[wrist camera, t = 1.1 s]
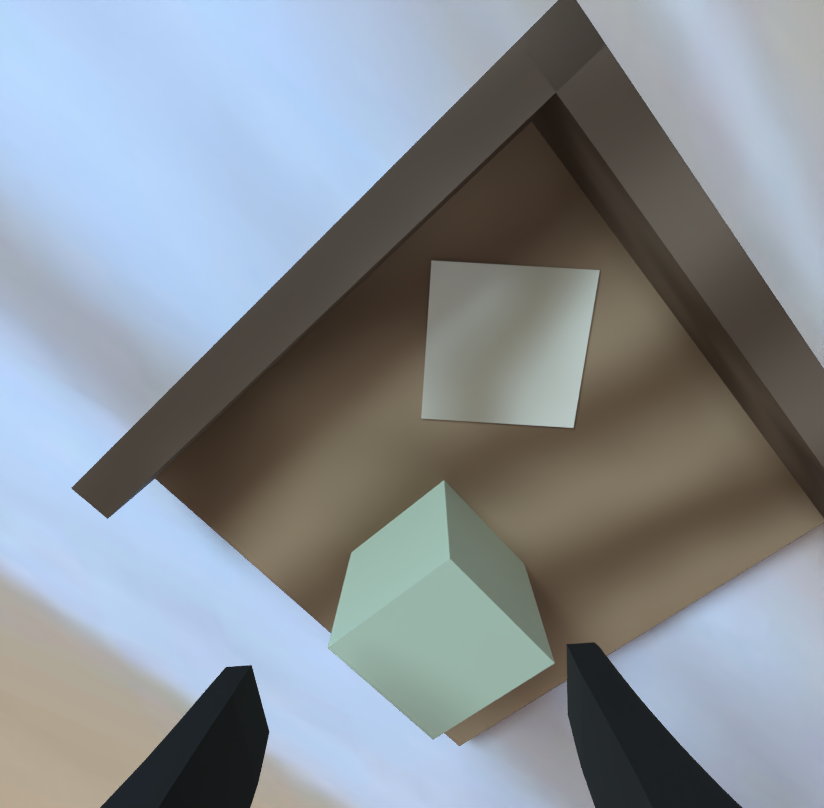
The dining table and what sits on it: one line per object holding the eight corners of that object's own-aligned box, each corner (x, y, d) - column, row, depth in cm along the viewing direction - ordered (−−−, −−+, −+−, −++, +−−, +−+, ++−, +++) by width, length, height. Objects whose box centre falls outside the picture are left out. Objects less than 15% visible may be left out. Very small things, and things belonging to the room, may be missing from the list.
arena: (841, 486, 20) (941, 544, 16) (458, 726, 24) (463, 816, 20) (533, 53, 15) (568, -11, 12) (139, 441, 20) (71, 488, 16)
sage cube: (524, 563, 20) (554, 663, 15) (431, 628, 21) (433, 739, 16) (444, 479, 19) (449, 558, 14) (351, 552, 20) (327, 648, 15)
